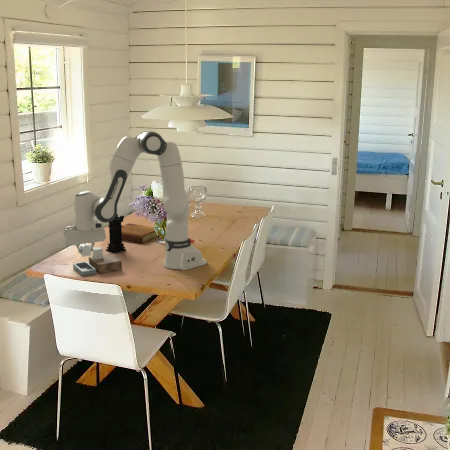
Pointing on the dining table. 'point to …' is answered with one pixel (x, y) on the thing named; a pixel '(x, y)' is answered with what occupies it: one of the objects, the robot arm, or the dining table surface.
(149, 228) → the diary
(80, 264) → the tray
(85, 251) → the off-white small block
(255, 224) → the dining table surface
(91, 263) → the square brown board
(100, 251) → the white block
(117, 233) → the chess piece
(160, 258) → the dining table surface
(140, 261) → the dining table surface
